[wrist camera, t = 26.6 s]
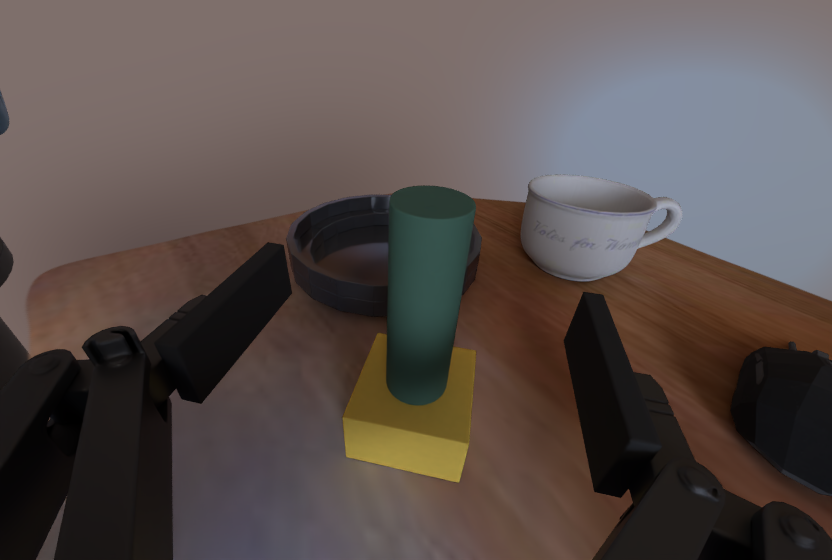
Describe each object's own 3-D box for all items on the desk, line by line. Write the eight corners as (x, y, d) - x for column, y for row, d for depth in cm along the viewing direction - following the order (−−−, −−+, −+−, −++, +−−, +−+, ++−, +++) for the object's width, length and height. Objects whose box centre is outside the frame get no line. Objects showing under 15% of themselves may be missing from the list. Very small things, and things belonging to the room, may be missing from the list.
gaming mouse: (844, 366, 27) (888, 326, 24) (877, 537, 17) (953, 498, 15) (741, 326, 30) (771, 287, 28) (720, 451, 20) (763, 407, 18)
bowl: (254, 301, 29) (244, 264, 27) (335, 214, 43) (333, 186, 41) (467, 340, 27) (474, 303, 25) (480, 235, 41) (485, 206, 39)
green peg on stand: (345, 457, 19) (323, 223, 11) (377, 371, 24) (377, 166, 16) (459, 483, 18) (518, 251, 10) (468, 389, 23) (513, 183, 15)
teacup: (508, 282, 33) (529, 200, 29) (513, 231, 42) (530, 162, 37) (673, 314, 31) (725, 230, 26) (642, 253, 39) (676, 182, 35)
